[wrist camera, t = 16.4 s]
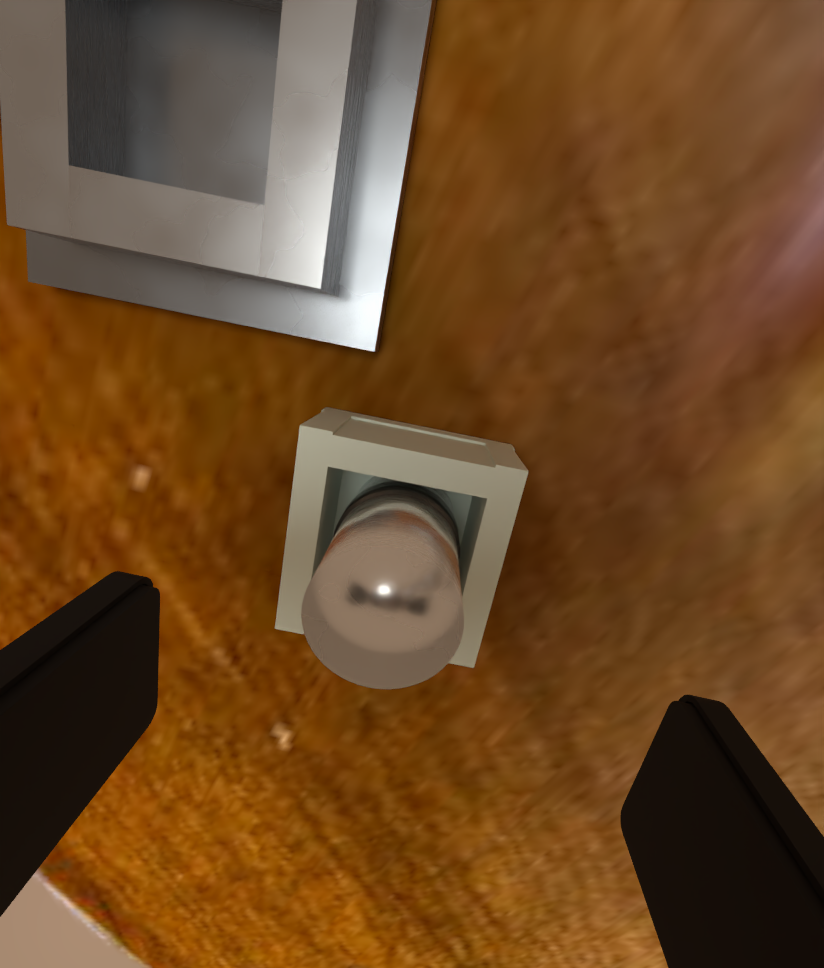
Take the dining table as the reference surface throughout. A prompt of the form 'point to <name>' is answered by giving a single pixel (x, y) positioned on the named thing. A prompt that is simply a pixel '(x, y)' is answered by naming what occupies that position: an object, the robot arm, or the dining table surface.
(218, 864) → the dining table surface
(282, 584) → the pale square socket block
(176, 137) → the grey square pan
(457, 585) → the beige round-topped cylinder
